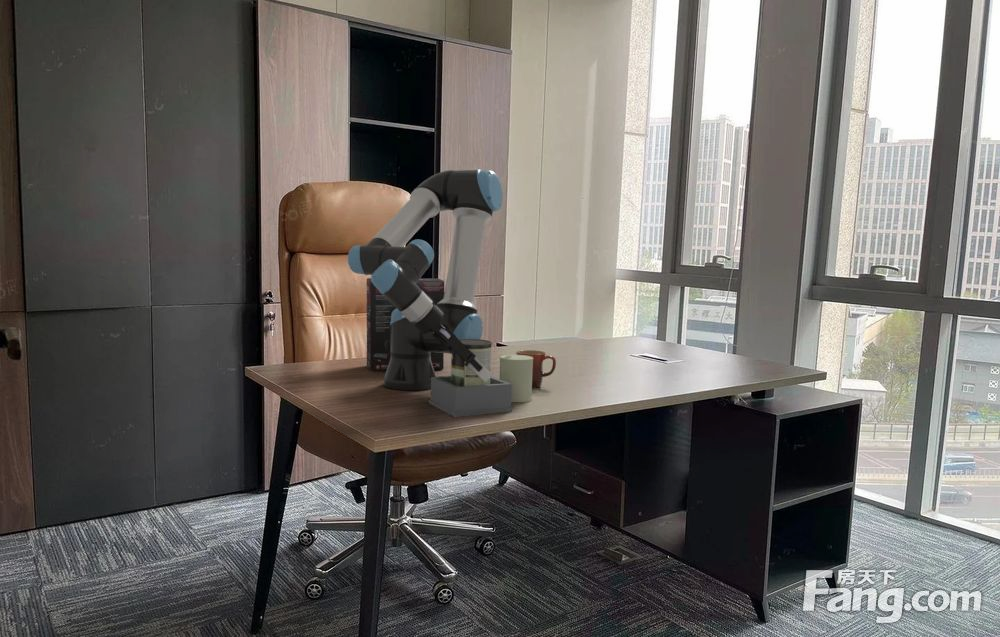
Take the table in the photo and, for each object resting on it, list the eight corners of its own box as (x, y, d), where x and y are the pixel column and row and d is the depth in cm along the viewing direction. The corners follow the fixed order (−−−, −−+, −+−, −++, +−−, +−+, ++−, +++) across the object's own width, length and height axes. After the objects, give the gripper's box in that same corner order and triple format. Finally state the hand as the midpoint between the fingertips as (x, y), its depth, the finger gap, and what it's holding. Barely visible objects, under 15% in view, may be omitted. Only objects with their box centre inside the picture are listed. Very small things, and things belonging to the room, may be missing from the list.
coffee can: (444, 398, 183) (445, 342, 182) (458, 390, 193) (459, 337, 192) (483, 401, 180) (484, 345, 179) (495, 394, 190) (496, 340, 189)
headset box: (368, 372, 234) (369, 268, 230) (364, 365, 245) (365, 266, 242) (444, 370, 240) (446, 269, 237) (436, 364, 252) (438, 268, 249)
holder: (429, 403, 190) (429, 376, 190) (483, 398, 198) (484, 373, 197) (454, 416, 176) (455, 388, 176) (512, 411, 184) (513, 384, 183)
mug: (511, 387, 214) (512, 353, 213) (519, 382, 223) (520, 349, 222) (551, 391, 211) (553, 356, 210) (557, 385, 220) (559, 352, 219)
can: (492, 397, 201) (493, 353, 199) (520, 394, 205) (522, 352, 204) (509, 403, 193) (510, 358, 192) (538, 401, 197) (540, 357, 196)
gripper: (403, 319, 191) (460, 377, 197) (421, 329, 170) (484, 393, 176) (424, 299, 192) (479, 357, 198) (444, 306, 171) (506, 371, 177)
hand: (482, 374), depth 187 cm, fingers closed on coffee can, 10 cm apart
